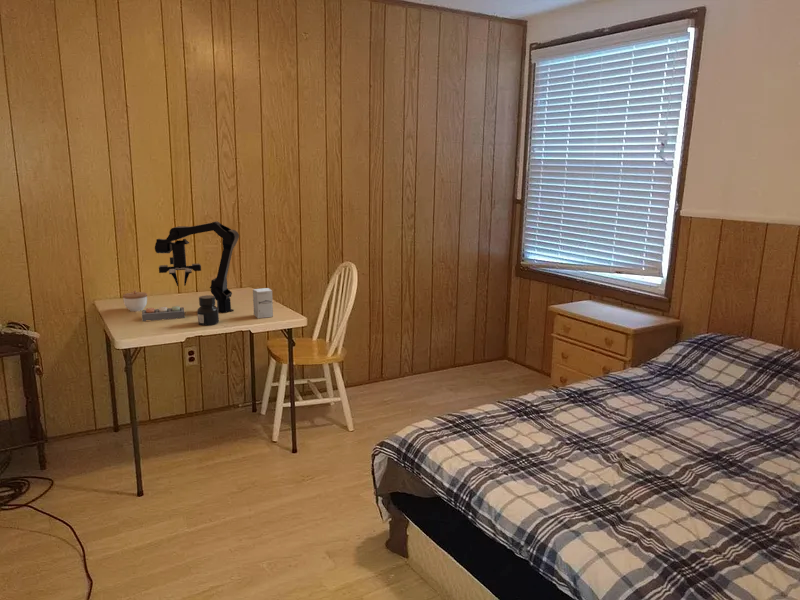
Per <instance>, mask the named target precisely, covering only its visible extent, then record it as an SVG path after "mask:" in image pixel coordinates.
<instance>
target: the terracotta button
mask: <svg viewBox="0 0 800 600" xmlns="http://www.w3.org/2000/svg"><path fill="white" fill-rule="evenodd" d="M155 309H156V308H154V307H148V308H145V310H146V313H155Z"/></svg>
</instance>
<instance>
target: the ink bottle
mask: <svg viewBox="0 0 800 600" xmlns="http://www.w3.org/2000/svg"><path fill="white" fill-rule="evenodd" d="M198 301H199V302H198V303H199V307H198V308H197V313H196V314H197V323H198V325H200V326H214V325H218V323H219V322H220V320H219V319H220V317H219V316H220V315H219V312H218V308H217V305H216V299H215V296H214V295H213V294H212V295H211V294H210V295H207V294H206V295H200V296H198Z"/></svg>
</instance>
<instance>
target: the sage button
mask: <svg viewBox="0 0 800 600" xmlns="http://www.w3.org/2000/svg"><path fill="white" fill-rule="evenodd" d="M180 307H181V306H180V305H173V306H172V307H171V308H172V311H180Z"/></svg>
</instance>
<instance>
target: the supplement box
mask: <svg viewBox="0 0 800 600" xmlns="http://www.w3.org/2000/svg"><path fill="white" fill-rule="evenodd" d="M252 301H253V302H252V303H253V306H252V307H253V316H254V315H255V316H254V317H255V318H257V319H263V318H273V317H274V313H273V312H274V310H273V309H274V308H273V307H274V305H273V303H274V302H273V290H272V289H271V288H269V287H266V288H265V287H263V288H253V289H252ZM272 316H273V317H272Z"/></svg>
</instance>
